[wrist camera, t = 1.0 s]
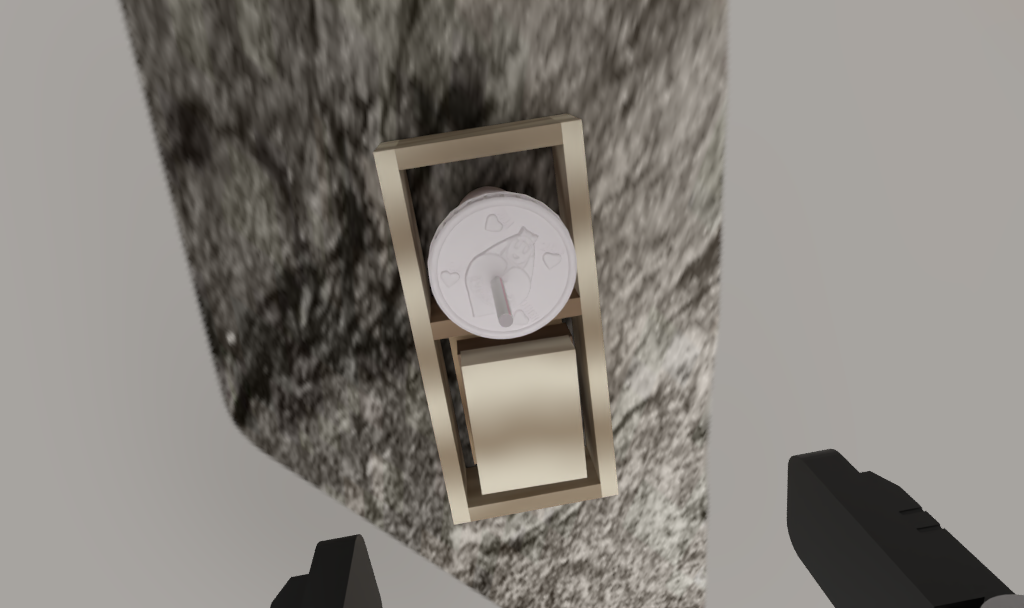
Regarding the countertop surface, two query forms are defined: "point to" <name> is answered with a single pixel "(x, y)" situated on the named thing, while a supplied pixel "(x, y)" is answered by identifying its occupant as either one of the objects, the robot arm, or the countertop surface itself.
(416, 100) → the countertop surface
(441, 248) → the smoothie
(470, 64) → the countertop surface
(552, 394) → the offcut top
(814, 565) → the robot arm
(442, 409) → the offcut rack
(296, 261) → the countertop surface
